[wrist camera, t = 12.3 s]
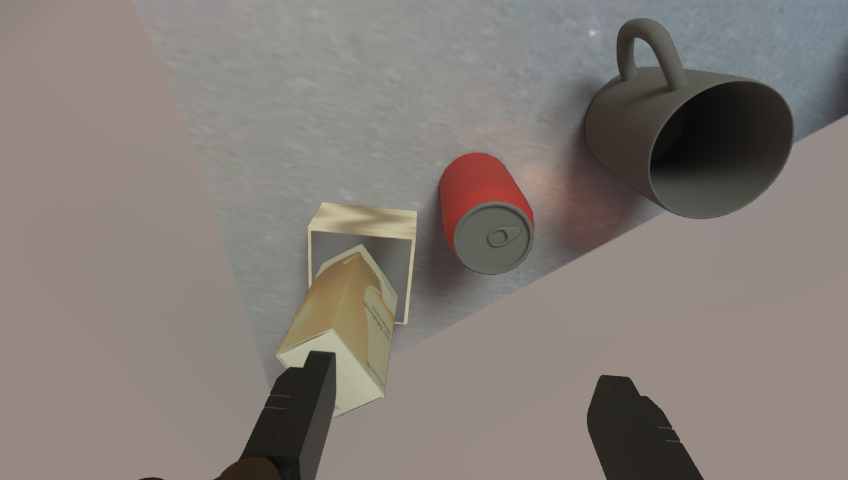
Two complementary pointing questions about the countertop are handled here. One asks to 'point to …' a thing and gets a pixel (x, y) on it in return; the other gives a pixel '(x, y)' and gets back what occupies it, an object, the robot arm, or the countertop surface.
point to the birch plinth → (367, 243)
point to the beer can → (485, 215)
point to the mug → (687, 130)
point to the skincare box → (347, 327)
